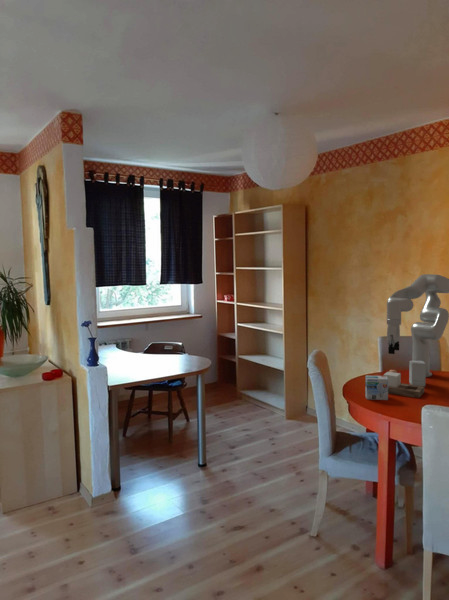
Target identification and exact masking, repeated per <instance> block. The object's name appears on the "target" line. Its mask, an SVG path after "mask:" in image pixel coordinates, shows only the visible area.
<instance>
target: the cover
mask: <svg viewBox="0 0 449 600" xmlns="http://www.w3.org/2000/svg"><path fill="white" fill-rule="evenodd" d="M383 376H387V378H388V386H389V387H396V388H397V387H398V386H399V385H400V384H401V381H402V380H401V378H402V377H401V376H402V374H401V372H397V373H394V372H389V371H386V372H385V373H384V374H383Z"/></svg>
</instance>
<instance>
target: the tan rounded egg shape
mask: <svg viewBox="0 0 449 600" xmlns="http://www.w3.org/2000/svg"><path fill="white" fill-rule="evenodd" d="M388 372H394V373H398V371H397V370H396V369H389V370H388Z"/></svg>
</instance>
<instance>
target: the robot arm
mask: <svg viewBox="0 0 449 600" xmlns="http://www.w3.org/2000/svg"><path fill="white" fill-rule="evenodd" d="M424 294H425V302H424V304H423V307H422V309H421V311H420V313H419V320H420V321H416V322H414V323H413V324H412V325H411V327H410V333H411V339H412V349H411V350H412V352H411V353H412V355H411V356H412V357H411V361H423V362H424V363H426V378H429V377H432V376H433V373H432V372H431V371H430V362H431V361H430V358H431V357H430V353H431V346H430V342H429V340H431V341H439V340H441V338H442V337H443V334H444V332H445V330H446V327H447V325H448V322H449V311H448V310H447V309H446V308H444V307H441V304H442V303H441V298H440V296H439V295H438V294H449V278H448V277H446V276H443V275H441V274H433V273H432V274H431V273H430V274H429V273H427V274H424V273H423V274H421V275H419V276H418V277H417V278H416V279H415V280H414V281H413V282H412V283H411V284H410V285H408V286H407V287H404V288H401V289H399V290H397V291H395V292H393V293H392V294H391V295H390V296H389V298H388V299H387V301H386V325H387V330H386V342H387V343H388V345H387V346H388V350H387V352H388V355H395V351H400V338H401V332H400V331H401V329H400V327H401V325H402V312H404V313H405V312H406V313H407V312H410V311H412V310H413V308H414V302H413V300H414V299H419V298H420V297H422V296H423V295H424Z"/></svg>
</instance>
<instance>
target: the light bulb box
mask: <svg viewBox="0 0 449 600" xmlns="http://www.w3.org/2000/svg"><path fill="white" fill-rule="evenodd" d="M364 386H365V388H364V389H365V391H364V394H365V395H364V396H365V399H366V400H374V401H375V400H378V401H379V400H380V401H389V393H388V378H387V376H384V375H365V385H364Z"/></svg>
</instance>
